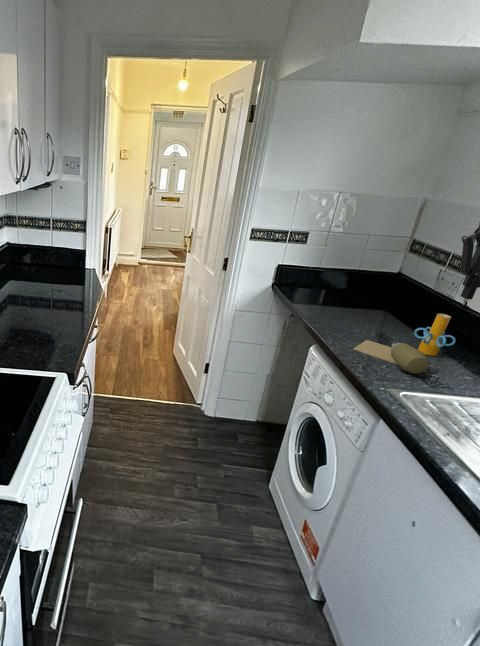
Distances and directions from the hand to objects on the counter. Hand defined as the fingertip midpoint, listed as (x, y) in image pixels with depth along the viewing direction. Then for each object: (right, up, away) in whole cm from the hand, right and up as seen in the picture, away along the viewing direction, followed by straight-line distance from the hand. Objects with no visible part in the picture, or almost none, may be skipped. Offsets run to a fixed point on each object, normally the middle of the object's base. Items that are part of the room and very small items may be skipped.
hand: (466, 297), depth 117 cm
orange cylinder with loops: (+19, -17, +37) cm, 45 cm away
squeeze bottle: (-1, -21, +17) cm, 27 cm away
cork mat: (+2, -17, +34) cm, 39 cm away
